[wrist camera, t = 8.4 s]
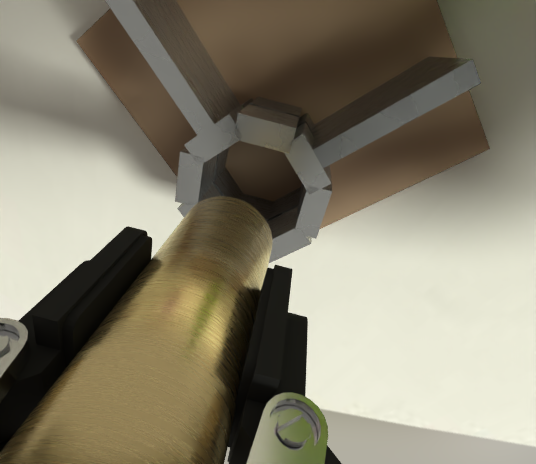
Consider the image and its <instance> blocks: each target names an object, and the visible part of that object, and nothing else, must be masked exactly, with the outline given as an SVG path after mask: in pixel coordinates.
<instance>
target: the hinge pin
mask: <svg viewBox="0 0 536 464" xmlns="http://www.w3.org/2000/svg"><path fill="white" fill-rule="evenodd" d="M272 241H273V240H272V233H271V229H270V227H269V225H268V223H267V221H266V219H265V218H264V217H263V215H262V214H261V213H260V212H259V211H258V210H257V209H256V208H254V207H253V206H252V205H250V204H248V203H247V202H245V201H242V200H240V199H237V198H233V197H227V196H217V197H211V198H208V199H205V200H203V201H201V202H199V203H197V204H196V205H195V206H194V207H193V208H191V210H190V211H189V212H188V213H187V215H186V216H185V217H184V219H183V220H182V221H181V222H180V224H179V225H178V226H177V227H176V229H175V230H174V231H173V233H172V234H171V235H170V236H169V238H168V239H167V240H166V242H165V243H164V244H163V245H162V247H161V248H160V249H159V250H158V252H157V253H156V254H155V256H154V257H153V258H152V259H151V261H150V262H149V263H148V264H147V266H146V267H145V268H144V270H143V271H142V272H141V273H140V275H139V276H138V277H137V278H136V280H135V281H134V282H133V284H132V285H131V286H130V287H129V289H128V290H127V291H126V292H125V294H124V295H123V296H122V298H121V299H120V300H119V301H118V303H117V304H116V305H115V307H114V308H113V309H112V310H111V312H110V313H109V314H108V315H107V317H106V318H105V319H104V321H103V322H102V323H101V324H100V326H99V327H98V328H97V329H96V331H95V332H94V333H93V335H92V336H91V337H90V338H89V340H88V341H87V342H86V343H85V345H84V346H83V347H82V349H81V350H80V351H79V352H78V354H77V355H76V356H75V357H74V359H73V360H72V361H71V363H70V364H69V365H68V366H67V368H66V369H65V370H64V372H63V373H62V374H61V375H60V377H59V378H58V379H57V380H56V382H55V383H54V384H53V386H52V387H51V388H50V389H49V391H48V392H47V393H46V394H45V396H44V397H43V398H42V400H41V401H40V402H39V403H38V405H37V406H36V407H35V408H34V410H33V411H32V412H31V414H30V415H29V416H28V417H27V419H26V420H25V421H24V422H23V424H22V425H21V426H20V428H19V429H18V430H17V431H16V433H15V434H14V435H13V437H12V438H11V439H10V440H9V442H8V443H7V444H6V445H5V447H4V448H3V449H2V451H1V452H0V464H224V460H225V456H226V451H227V447H228V442H229V438H230V433H231V429H232V424H233V420H234V415H235V410H236V404H235V401H236V396H237V392H238V388H239V383H240V379H241V375H242V370H243V366H244V362H245V357H246V353H247V349H248V344H249V340H250V336H251V331H252V327H253V323H254V318H255V314H256V310H257V305H258V301H259V297H260V292H261V288H262V285H263V281H264V278H265V274H266V270H267V268H268V263H269V259H270V254H271V250H272Z"/></svg>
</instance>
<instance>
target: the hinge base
mask: <svg viewBox="0 0 536 464" xmlns="http://www.w3.org/2000/svg"><path fill="white" fill-rule="evenodd" d="M176 1H177V3H178V5H179V6H180V8H181V10H182V11H183V13H184V14H185V16H186V18H187V19H188V21H189V23H190V24H191V26H192V27H193V29H194V31H195V32H196V34H197V36H198V37H199V39H200V40H201V42H202V44H203V45H204V47H205V49H206V50H207V52H208V53H209V55H210V57H211V58H212V60H213V62H214V63H215V65H216V66H217V68H218V70H219V71H220V73H221V75H222V76H223V78H224V79H225V81H226V83H227V84H228V86H229V88H230V89H231V91H232V92H233V94H234V96H235V97H236V99H237V101H238V102H239V104H240V105H242V104H244V103H245V102H246V101H248V100H249V99H251V98H252V99H253V100H255V99H256V98H258V97H262V98H266V99H270V100H273V101H277V102H281V103H285V104H289V105H293V106H296V107H300V108H302V110H301V114H300V117H301V116H302V115H304V114H305V113H307V112H308V114H309V116H310V118H311V120H312V121H313V123H314V125H315V124H316V123H318V122H320V121H321V120H323V119H325V118H326V117H328V116H330V115H331V114H333V113H335V112H336V111H338V110H340V109H342V108H343V107H345V106H347V105H348V104H350V103H352V102H353V101H355V100H357V99H358V98H360V97H362V96H363V95H365V94H367V93H368V92H370V91H372V90H373V89H375V88H377V87H378V86H380V85H382V84H383V83H385V82H387V81H389V80H390V79H392V78H394V77H395V76H397V75H399V74H400V73H402V72H404V71H405V70H407V69H409V68H410V67H412V66H414V65H415V64H417V63H419V62H420V61H422V60H424V59H425V58H427V57H429V56H432V57H447V58H457V56H456V53H455V50H454V47H453V44H452V42H451V39H450V36H449V33H448V30H447V28H446V25H445V22H444V19H443V17H442V14H441V11H440V8H439V5H438V3H437V0H176ZM77 43H78V44H79V45H80V47H81V48H82V50H83V51H84V52H85V54H86V55H87V56H88V58H89V59H90V60H91V62H92V63H93V64H94V66H95V67H96V68H97V70H98V71H99V72H100V74H101V75H102V76H103V78H104V79H105V80H106V82H107V83H108V85H109V86H110V87H111V89H112V90H113V91H114V93H115V94H116V95H117V97H118V98H119V99H120V101H121V102H122V103H123V105H124V106H125V107H126V109H127V110H128V111H129V113H130V114H131V115H132V117H133V118H134V120H135V121H136V122H137V124H138V125H139V126H140V128H141V129H142V130H143V132H144V133H145V134H146V136H147V137H148V138H149V140H150V141H151V142H152V144H153V145H154V146H155V148H156V149H157V150H158V152H159V153H160V155H161V156H162V157H163V159H164V160H165V161H166V163H167V164H168V165H169V167H170V168H171V169H172V171H173V172H174V173H175V175H176V176H177V177H178V168H179V157H180V151H182V150H183V149H184V148H186V147H185V145H184V144H186V143H187V142H189V141H190V140H191V139H193V138H194V137H196V136H197V134H196V132H195V131H194V130H193V128H192V127H191V125H190V124H189V122H188V121H187V119H186V118H185V116H184V115H183V114H182V112H181V111H180V109H179V108H178V106H177V105H176V103H175V102H174V100H173V99H172V97H171V96H170V95H169V93H168V92H167V90H166V89H165V87H164V86H163V84H162V83H161V81H160V80H159V78H158V77H157V76H156V74H155V73H154V71H153V70H152V68H151V67H150V65H149V64H148V62H147V61H146V59H145V58H144V57H143V55H142V54H141V52H140V51H139V49H138V48H137V46H136V45H135V43H134V42H133V40H132V39H131V38H130V36H129V35H128V33H127V32H126V30H125V29H124V27H123V26H122V24H121V23H120V22H119V20H118V19H117V17H116V16H115V14H114V13H113V11H112V10H111V8H110V9H109V10H108V11H107V12H106V13H105V14H104V15H103V16H102V17H101V18H100V19H99V20H98V21H97V22H96V23H95V24H94V25H93V26H91V27H90V28H89V29H88V30H87V31H86V32H85V33H84V34H83V35H82V36H81V37H80V38H79V39H78V40H77ZM488 149H490V148H489V145H488V142H487V139H486V136H485V134H484V131H483V128H482V125H481V122H480V120H479V117H478V114H477V111H476V109H475V106H474V103H473V100H472V97H471V95H470V92H469V90H467V91H466V92H464V93H462V94H460V95H458V96H456V97H455V98H453V99H451V100H449V101H447V102H445V103H443V104H442V105H440V106H438V107H436V108H434V109H432V110H430V111H429V112H427V113H425V114H423V115H421V116H419V117H417V118H416V119H414V120H412V121H410V122H408V123H406V124H404V125H403V126H401V127H399V128H397V129H395V130H393V131H392V132H390V133H388V134H386V135H384V136H382V137H380V138H379V139H377V140H375V141H373V142H371V143H369V144H367V145H366V146H364V147H362V148H360V149H358V150H356V151H354V152H353V153H351V154H349V155H347V156H345V157H343V158H341V159H340V160H338V161H336V162H334V163H332V164H330V173H331V184H332V194H331V197H330V200H329V202H328V205H327V208H326V211H325V214H324V217H323V220H322V223H321V226H320V229H321V228H323V227H325V226H327V225H330V224H332V223H334V222H336V221H338V220H340V219H342V218H344V217H346V216H349V215H351V214H353V213H355V212H357V211H359V210H361V209H363V208H366V207H368V206H370V205H372V204H374V203H376V202H378V201H380V200H382V199H385V198H387V197H389V196H391V195H393V194H395V193H397V192H399V191H402V190H404V189H406V188H408V187H410V186H412V185H414V184H416V183H418V182H421V181H423V180H425V179H427V178H429V177H431V176H433V175H435V174H438V173H440V172H442V171H444V170H446V169H448V168H450V167H452V166H454V165H457V164H459V163H461V162H463V161H465V160H467V159H469V158H471V157H474V156H476V155H478V154H480V153H482V152H484V151H486V150H488ZM226 169H227V170H228V172H229V173H230V175H231V176H232V177H233V179H234V180H235V182H236V183H237V185H238V186H239V188H240V189H241V191H242V192H243V194H247V195H251V196H254V197H258V198H262V199H266V200H270V201H273V202H274V201H275V200H277V199H279V198H281V197H283V196H285V195H287V194H289V193H290V192H292V191H294V190H296V189H298V188H300V187H301V184H302V182H301V180H300V179H299V177H298V175H297V173H296V172H295V170H294V168H293V167H292V165H291V163H290V162H289V160H288V158H287V157H286V155H285V153H284V152H281V151H277V150H273V149H269V148H265V147H261V146H258V145H254V144H250V143H246V142H242V141H238V142H236V143H235V144H233V145H231V146H230V147H229V151H228V157H227V163H226Z"/></svg>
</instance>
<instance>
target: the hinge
mask: <svg viewBox="0 0 536 464" xmlns="http://www.w3.org/2000/svg"><path fill="white" fill-rule="evenodd" d="M105 1H106V3H107V4H108V5H109V7H110V8H111V10H112V11H113V13H114V14H115V16H116V17H117V19H118V20H119V22H120V23H121V24H122V26H123V27H124V29H125V30H126V32H127V33H128V35H129V36H130V38H131V39H132V40H133V42H134V43H135V45H136V46H137V48H138V49H139V51H140V52H141V54H142V55H143V57H144V58H145V59H146V61H147V62H148V64H149V65H150V67H151V68H152V70H153V71H154V73H155V74H156V76H157V77H158V78H159V80H160V81H161V83H162V84H163V86H164V87H165V89H166V90H167V92H168V93H169V95H170V96H171V97H172V99H173V100H174V102H175V103H176V105H177V106H178V108H179V109H180V111H181V112H182V114H183V115H184V116H185V118H186V119H187V121H188V122H189V124H190V125H191V127H192V128H193V130H194V131H195V132H196V134H197V136H196V137H194V138H193V139H191V140H190V141H189V142H187V143H186V144H184V145H185V147H186V148H184V149H183V150H182V151H180V157H179V168H178V178H177V188H176V198H175V201H176V202H180V203H182V204H181V205H180V206H179V207H178V208H177V209H178V210H179V211H180V212H181V214H182V215H183V216H184V217H185V216H186V215H187V213H188V212H189V211H190V210H191V208H193V207H194V206H195V205H196V204H197V203H199V202H201V201H203V200H205V199H208V198H211V197H217V196H227V197H233V198H237V199H240V200H242V201H245V202H247V203H248V204H250V205H252V206H253V207H254V208H256V209H257V210H258V211H259V212H260V213H261V214H262V215H263V217H264V218H265V219H266V221H267V223H268V225H269V227H270V229H271V233H272V240H273V241H272V250H271V254H270V259H269V263H270V262H273V261H275V260H277V259H279V258H281V257H283V256H286V255H288V254H290V253H292V252H294V251H296V250H299V249H301V248H303V247H305V246H307V245H310V244H311V237H313V238H316V237H317V234H318V232H319V229H320V226H321V223H322V220H323V217H324V214H325V211H326V208H327V205H328V202H329V200H330V197H331V194H332V184H331V173H330V164H332V163H334V162H336V161H338V160H340V159H341V158H343V157H345V156H347V155H349V154H351V153H353V152H354V151H356V150H358V149H360V148H362V147H364V146H366V145H367V144H369V143H371V142H373V141H375V140H377V139H379V138H380V137H382V136H384V135H386V134H388V133H390V132H392V131H393V130H395V129H397V128H399V127H401V126H403V125H404V124H406V123H408V122H410V121H412V120H414V119H416V118H417V117H419V116H421V115H423V114H425V113H427V112H429V111H430V110H432V109H434V108H436V107H438V106H440V105H442V104H443V103H445V102H447V101H449V100H451V99H453V98H455V97H456V96H458V95H460V94H462V93H464V92H466V91H467V90H469V89H471V88H473V87H475V86H477V85H479V84H480V83H481V82H480V79H479V76H478V73H477V70H476V67H475V64H474V61H473V59H462V58H447V57H432V56H429V57H427V58H425V59H424V60H422V61H420V62H419V63H417V64H415V65H414V66H412V67H410V68H409V69H407V70H405V71H404V72H402V73H400V74H399V75H397V76H395V77H394V78H392V79H390V80H389V81H387V82H385V83H383V84H382V85H380V86H378V87H377V88H375V89H373V90H372V91H370V92H368V93H367V94H365V95H363V96H362V97H360V98H358V99H357V100H355V101H353V102H352V103H350V104H348V105H347V106H345V107H343V108H342V109H340V110H338V111H336V112H335V113H333V114H331V115H330V116H328V117H326V118H325V119H323V120H321V121H320V122H318V123H316V124H315V125H314V123H313V121H312V120H311V118H310V116H309V114H308V112H307V113H305V114H304V115H302V116H301V117H300V114H301V110H302V108H300V107H296V106H293V105H289V104H285V103H281V102H277V101H273V100H270V99H266V98H262V97H258V98H256V99H255V100H253V99H252V98H251V99H249V100H248V101H246V102H245V103H244V104H242V105H240V104H239V102H238V101H237V99H236V97H235V96H234V94H233V92H232V91H231V89H230V88H229V86H228V84H227V83H226V81H225V79H224V78H223V76H222V75H221V73H220V71H219V70H218V68H217V66H216V65H215V63H214V62H213V60H212V58H211V57H210V55H209V53H208V52H207V50H206V49H205V47H204V45H203V44H202V42H201V40H200V39H199V37H198V36H197V34H196V32H195V31H194V29H193V27H192V26H191V24H190V23H189V21H188V19H187V18H186V16H185V14H184V13H183V11H182V10H181V8H180V6H179V5H178V3H177V1H176V0H105ZM238 141H242V142H246V143H250V144H254V145H258V146H261V147H265V148H269V149H273V150H277V151H281V152H284V153H285V155H286V157H287V158H288V160H289V162H290V163H291V165H292V167H293V168H294V170H295V172H296V173H297V175H298V177H299V179H300V180H301V182H302V184H301V187H300V188H298V189H296V190H294V191H292V192H290V193H289V194H287V195H285V196H283V197H281V198H279V199H277V200H275V201H274V202H273V201H270V200H266V199H262V198H258V197H254V196H251V195H247V194H243V192H242V191H241V189H240V188H239V186H238V185H237V183H236V182H235V180H234V179H233V177H232V176H231V175H230V173H229V172H228V170H227V169H226V163H227V157H228V151H229V147H230V146H231V145H233V144H235V143H236V142H238Z"/></svg>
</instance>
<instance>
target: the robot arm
mask: <svg viewBox="0 0 536 464" xmlns="http://www.w3.org/2000/svg"><path fill="white" fill-rule="evenodd" d="M151 252H152V238H151V237H148V236H147V232H146V231H144V230H140V229H136V228H132V227H126V228H124V229H123V230H122V231H121V232H120V233H119V234H118V235H117V236H116V237H115V238H114V239H113V240H112V241H110V242H109V243H108V244H107V245H106V246H105V247H104V248H103V249H102V250H101V251H100V252H99V253H98V254H97V255H95V256H94V257H93V258H92V259H91V260H90V261H89V260H88V261H84V262H83V263H82V264H80V265H79V266H78V267H77V268H76V269H75V270H74V271H73V272H72V273H70V274H69V275H68V276H67V277H66V278H65V279H64V280H63V281H62V282H61V283H59V284H58V285H57V286H56V287H55V288H54V289H53V290H52V291H51V292H50V293H49V294H47V295H46V296H45V297H44V298H43V299H42V300H41V301H40V302H39V303H38V304H36V305H35V306H34V307H33V308H32V309H31V310H30V311H29V312H28V313H27V314H25V315H24V316H23V317H22V318H21V319H20V320H19V321H17V320H13V319H9V318H0V452H1V451H2V449H3V448H4V447H5V445H6V444H7V443H8V442H9V440H10V439H11V438H12V437H13V435H14V434H15V433H16V431H17V430H18V429H19V428H20V426H21V425H22V424H23V422H24V421H25V420H26V419H27V417H28V416H29V415H30V414H31V412H32V411H33V410H34V408H35V407H36V406H37V405H38V403H39V402H40V401H41V400H42V398H43V397H44V396H45V394H46V393H47V392H48V391H49V389H50V388H51V387H52V386H53V384H54V383H55V382H56V380H57V379H58V378H59V377H60V375H61V374H62V373H63V372H64V370H65V369H66V368H67V366H68V365H69V364H70V363H71V361H72V360H73V359H74V357H75V356H76V355H77V354H78V352H79V351H80V350H81V349H82V347H83V346H84V345H85V343H86V342H87V341H88V340H89V338H90V337H91V336H92V335H93V333H94V332H95V331H96V329H97V328H98V327H99V326H100V324H101V323H102V322H103V321H104V319H105V318H106V317H107V315H108V314H109V313H110V312H111V310H112V309H113V308H114V307H115V305H116V304H117V303H118V301H119V300H120V299H121V298H122V296H123V295H124V294H125V292H126V291H127V290H128V289H129V287H130V286H131V285H132V284H133V282H134V281H135V280H136V278H137V277H138V276H139V275H140V273H141V272H142V271H143V270H144V268H145V267H146V266H147V264H148V263H149V262H150V261H151ZM291 278H292V269H290V268H286V267H282V266H278V265H275V267H274V269H271V268H267V270H266V274H265V278H264V281H263V285H262V288H261V292H260V297H259V301H258V305H257V310H256V314H255V318H254V323H253V327H252V331H251V336H250V340H249V344H248V349H247V353H246V357H245V362H244V366H243V370H242V375H241V379H240V383H239V388H238V392H237V396H236V401H235V404H236V410H235V415H234V420H233V424H232V429H231V433H230V438H229V442H228V447H230V452H229V456H228V462H229V464H341V463H340V461H339V460H338V459H337V457H336V456H335V455H334V453H333V452H332V451H331V450H330V448H329V447H328V446H327V440H328V426H327V423H326V420H325V417H324V415H323V414H322V412H321V411H320V409H319V407H318V406H317V405H315V404H314V403H313V402H312V401H311V400H310V399H308V398H306V397H305V386H306V356H307V325H308V321H307V317H304V316H300V315H296V314H292V313H288V305H289V296H290V287H291Z"/></svg>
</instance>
